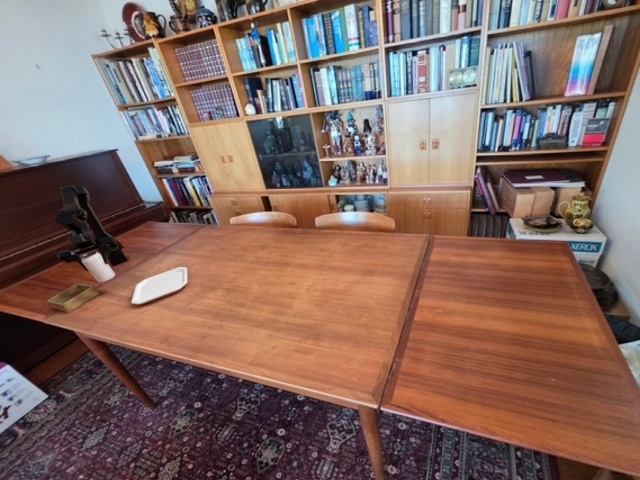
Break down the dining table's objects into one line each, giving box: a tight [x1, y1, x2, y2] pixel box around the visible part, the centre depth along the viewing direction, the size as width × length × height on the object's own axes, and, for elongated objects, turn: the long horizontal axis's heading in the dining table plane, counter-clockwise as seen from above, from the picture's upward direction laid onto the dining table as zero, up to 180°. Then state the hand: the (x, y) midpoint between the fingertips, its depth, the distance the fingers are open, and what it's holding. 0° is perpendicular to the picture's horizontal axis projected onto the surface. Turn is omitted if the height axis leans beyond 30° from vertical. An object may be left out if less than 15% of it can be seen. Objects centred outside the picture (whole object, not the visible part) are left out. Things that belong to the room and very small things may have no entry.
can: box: [80, 250, 116, 284], centre depth 123 cm, size 6×6×12 cm
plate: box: [130, 266, 188, 306], centre depth 124 cm, size 21×21×2 cm
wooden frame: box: [46, 283, 100, 313], centre depth 126 cm, size 12×12×4 cm
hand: (96, 267), depth 122 cm, fingers closed on can, 6 cm apart
